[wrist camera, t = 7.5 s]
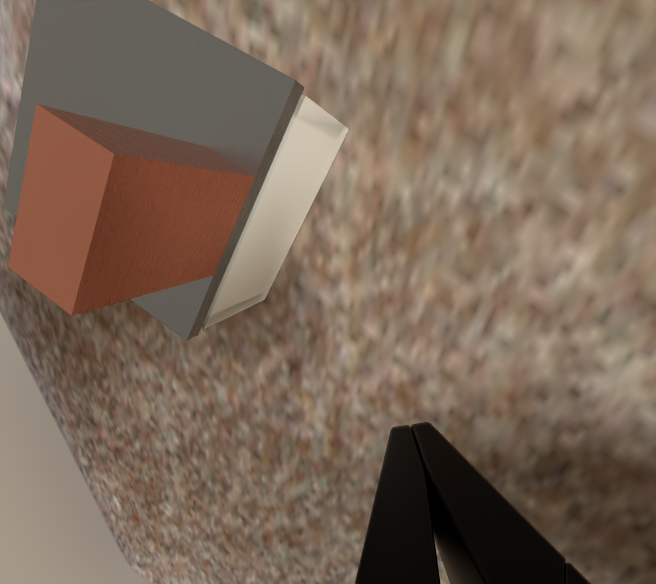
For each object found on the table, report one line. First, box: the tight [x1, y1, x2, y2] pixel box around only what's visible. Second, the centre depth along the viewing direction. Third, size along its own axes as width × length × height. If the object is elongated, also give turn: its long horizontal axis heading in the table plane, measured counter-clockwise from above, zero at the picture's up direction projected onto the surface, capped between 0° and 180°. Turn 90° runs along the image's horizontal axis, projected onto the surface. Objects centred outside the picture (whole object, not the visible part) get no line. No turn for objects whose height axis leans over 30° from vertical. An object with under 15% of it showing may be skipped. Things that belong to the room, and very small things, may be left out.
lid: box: [4, 0, 304, 340], centre depth 13 cm, size 12×11×7 cm
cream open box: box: [201, 94, 349, 329], centre depth 19 cm, size 12×11×6 cm
